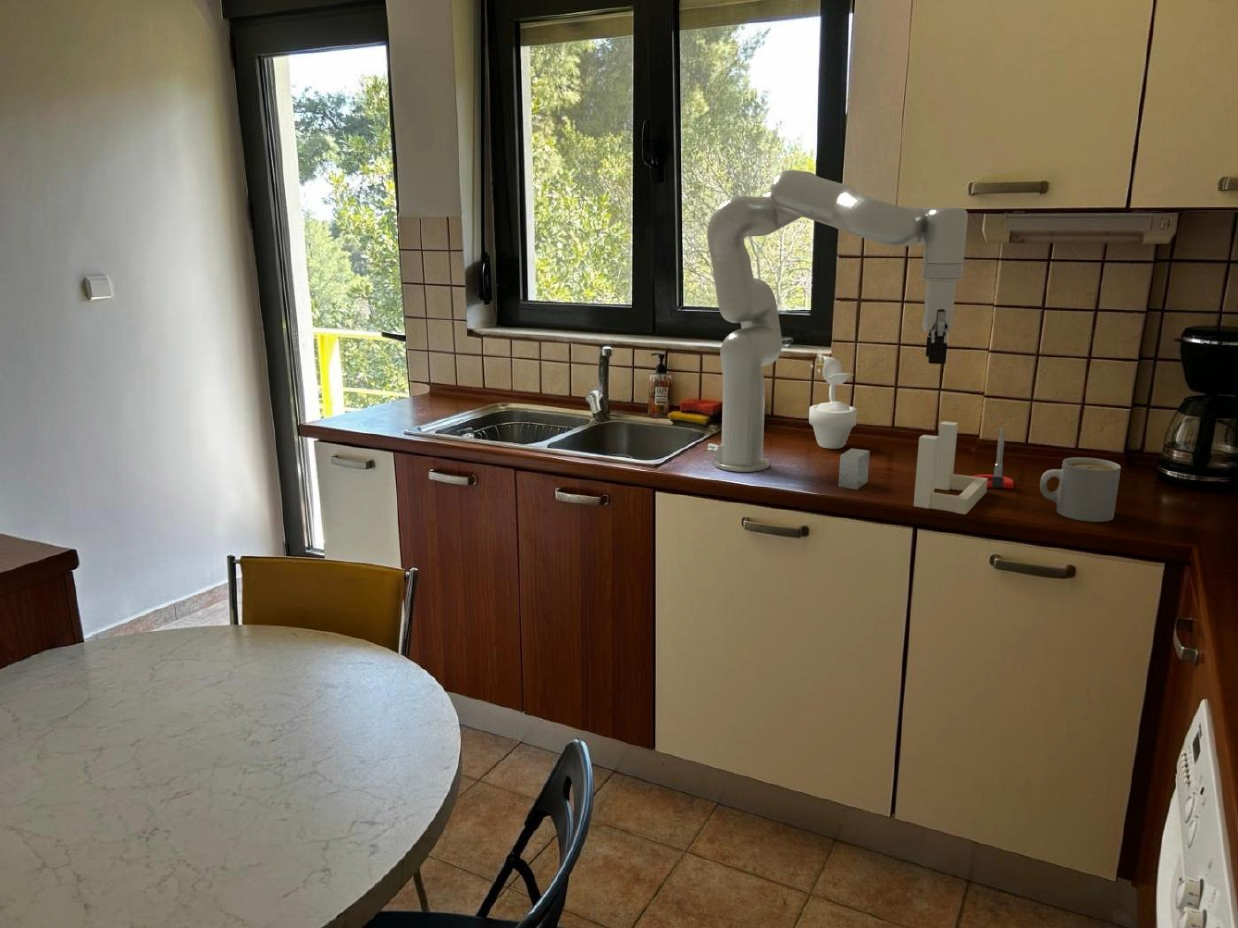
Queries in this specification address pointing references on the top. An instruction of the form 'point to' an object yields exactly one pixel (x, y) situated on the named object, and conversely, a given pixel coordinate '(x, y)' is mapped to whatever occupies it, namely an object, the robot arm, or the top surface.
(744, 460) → the robot arm
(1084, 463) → the coffee mug
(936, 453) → the white open frame stand
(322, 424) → the top surface
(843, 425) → the potted plant
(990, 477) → the grey red t-shaped piece
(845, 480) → the grey upright block
